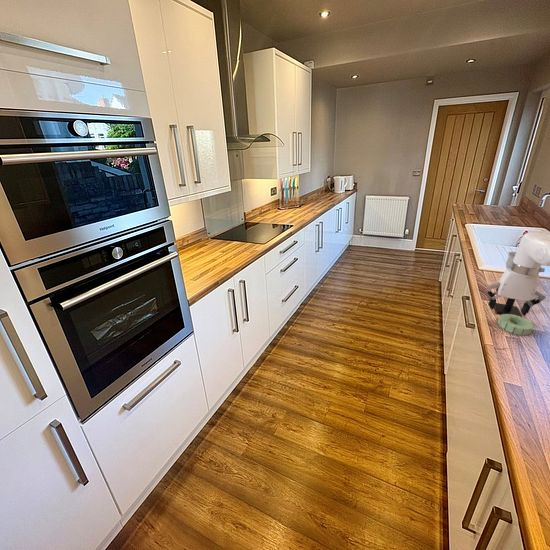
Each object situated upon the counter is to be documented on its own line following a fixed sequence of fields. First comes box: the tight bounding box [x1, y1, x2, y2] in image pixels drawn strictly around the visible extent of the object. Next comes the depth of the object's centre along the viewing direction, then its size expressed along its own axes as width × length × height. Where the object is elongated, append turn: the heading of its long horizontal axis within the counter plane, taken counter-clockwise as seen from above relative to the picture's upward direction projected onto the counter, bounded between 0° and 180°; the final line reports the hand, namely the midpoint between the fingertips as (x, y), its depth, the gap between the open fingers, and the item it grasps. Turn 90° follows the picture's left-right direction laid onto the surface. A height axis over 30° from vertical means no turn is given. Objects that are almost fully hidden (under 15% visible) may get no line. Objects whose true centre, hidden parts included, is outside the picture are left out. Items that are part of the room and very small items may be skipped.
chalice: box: [505, 251, 517, 269], centre depth 129 cm, size 7×7×18 cm
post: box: [494, 298, 523, 317], centre depth 115 cm, size 8×8×13 cm
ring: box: [497, 314, 535, 336], centre depth 107 cm, size 10×10×3 cm
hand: (506, 310), depth 107 cm, fingers open, 9 cm apart
